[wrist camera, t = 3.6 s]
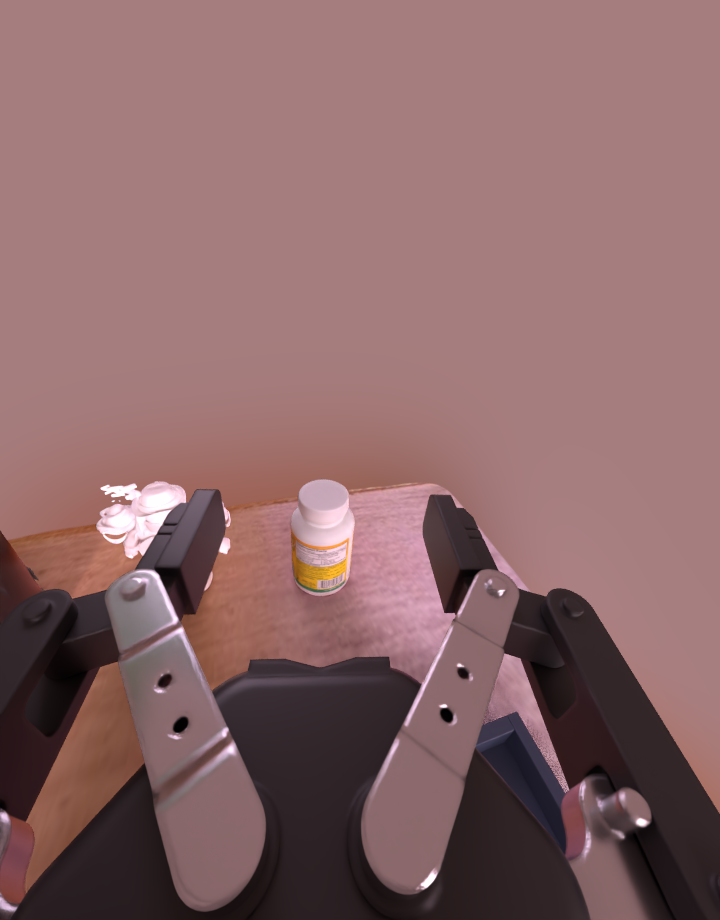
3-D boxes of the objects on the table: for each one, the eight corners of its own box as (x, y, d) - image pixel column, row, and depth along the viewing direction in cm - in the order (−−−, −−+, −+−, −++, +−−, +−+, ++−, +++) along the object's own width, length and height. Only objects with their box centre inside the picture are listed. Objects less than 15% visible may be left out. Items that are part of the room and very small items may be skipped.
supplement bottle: (333, 607, 30) (338, 527, 24) (280, 583, 31) (274, 503, 26) (359, 563, 34) (367, 486, 28) (311, 543, 35) (311, 467, 30)
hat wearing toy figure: (123, 608, 28) (64, 495, 21) (140, 569, 31) (94, 460, 25) (238, 597, 30) (217, 489, 23) (243, 561, 33) (226, 457, 26)
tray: (432, 1278, 11) (451, 1325, 9) (338, 795, 20) (340, 781, 18) (681, 1051, 14) (723, 1059, 13) (504, 727, 23) (517, 711, 22)
